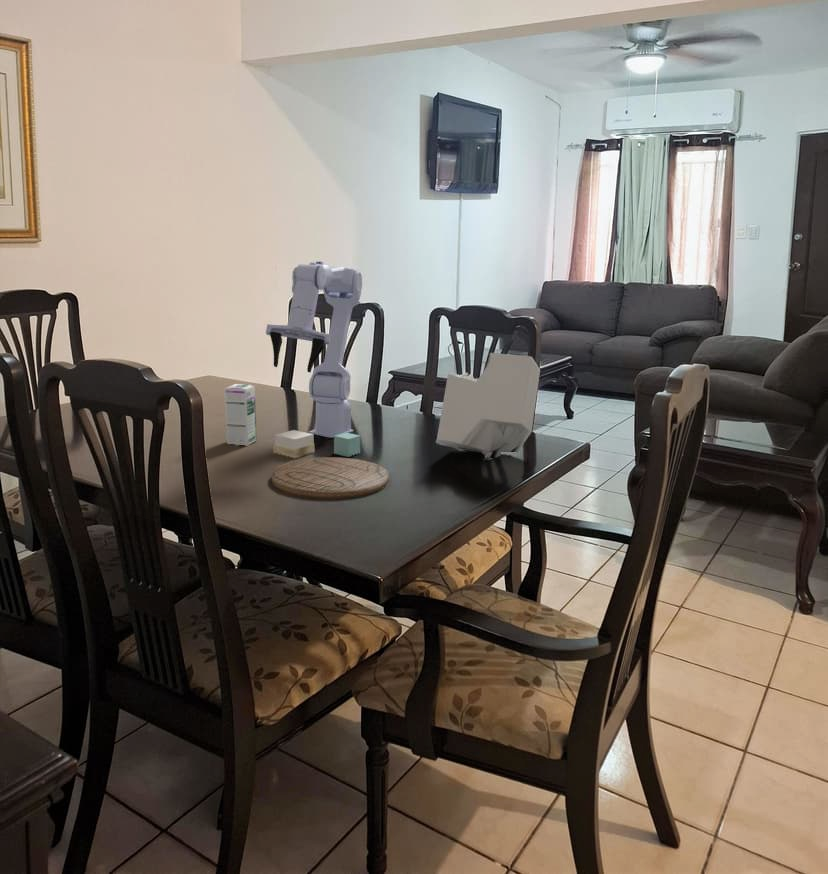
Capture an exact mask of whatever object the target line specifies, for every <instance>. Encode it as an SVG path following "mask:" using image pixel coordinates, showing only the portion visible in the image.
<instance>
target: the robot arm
mask: <svg viewBox="0 0 828 874" xmlns="http://www.w3.org/2000/svg"><path fill="white" fill-rule="evenodd" d="M291 278H292V286H291V292H292V298H291V304H290V309H289V315H288V320H287V324H286V325H284V324H283V325H282V324H268V323H267V325H266V328H265V334H266V336H269V337H270V340H271V344H272V349H273V350H272V352H273V367H274V368H278V366H279V357H280V352H281V347H282V344H283V339H282V337H283V338H289V339H297V340H303V341H309V342H312V343H311V351H310V355H309V359H308V364H307V368H306V369H307V373H311V372H312V375H311V377H310V379H309V382H308V391H309V392H308V393H309V395H310V397H311V398H312V399H313V401H314V402H315V429H312V430H309V431H308V433H310V434H314V435H317V436H321V437H325V438H328V439H329V438H331V439H332V438H334V436H336V435H339V434H343V433H350V434H351V433H353V432H354V429H352V408H351V404H350V402H349V401H348V400H347V399H348V398H349V397H350V393H351V374H350V372H349V370H348V369H346V368H345V366H343V362H344V358H345V356H344V355H345V351H346V347H347V346H346V345H347V339H348V334H349V327H350V323H351V317H352V312H353V308H354V307H355V306H358V305H359V303H360V299H361V295H362V288H363V276H362V273H361V271H360V270H358V269H354V268H352V267H351V268H349V267H345V266H344V267H343V266H329V265H327V264H326V263H324V261H321V260H320V261H319V260H318V261H315V262H309V264H298V265H297V266H294V268H293V270H292V277H291ZM320 291H323V294H324V297H325V301H326V303H328V304H329V305H330V306H331V307H332V308H333V311H332V316H331V322H330V327H329V333H325V332H321V331H318V330H315V329H313V325H314V320H315V315H316V310H317V303H318V298H319V292H320ZM325 345H326V350H325V356H324V359H323V361H324V362H321V363H320V364H318V365H317V366H315V365H314V364H315V362H316V360H317V359H318V357H319V356H320V355H321V353H322V352H323V351H324V349H325ZM314 366H315V367H314ZM313 367H314V368H313ZM312 369H313V371H312Z"/></svg>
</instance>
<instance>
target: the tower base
mask: <svg viewBox="0 0 828 874" xmlns="http://www.w3.org/2000/svg"><path fill="white" fill-rule="evenodd" d="M315 445H316V444H315V443H314V444H313V445H309V446H306V447H302V448H299V449H295V450H294V449H290V448H286V447H282V446H278V445H275V444H273V445H272V446H273V447H272V448H273V449H272V453H273V452H274V453H273V454H276V453H278V454H277V455H280V454H282V455H281V456H284V455H285V457H288V456H289V457H288V458H293V459H297V458H300V457H303V456H307V455H311V454H314V453H315V450H316V448H315ZM310 453H311V454H310Z"/></svg>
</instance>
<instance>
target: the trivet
mask: <svg viewBox="0 0 828 874" xmlns="http://www.w3.org/2000/svg"><path fill="white" fill-rule="evenodd" d="M271 483H272V485H273V486H274V487H275V488H276V489H277V488H278V489H277V490H280V491H281V492H283V493H287V494H289V495H293V496H296V497H302V498H308V499H321V500H322V499H323V500H326V499H328V500H332V499H333V500H341V499H342V500H343V499H349V498H350V499H351V498H352V499H353V498H358V497H364V496H368V495H371V493H372V494H374V492H375V493H377V492H376V491H378V492H380V491H382V490H383V489H384V488H383V487H385V486H386V487H387V485H388V484H387V483H389V472H388V470H387V469H385V467H384V466H381V465H379V464H378V463H377V464H376V463H374V462H371V461H367V460H363V459H362V460H361V459H357V458H349V457H347V458H346V457H336V456H335V457H333V456H332V457H330V456H329V457H310V458H305V459H304V458H303V459H298V460H297V459H296V460H293V461H288V462H285V463H283V464H281V465H278V466H277V467H276V468H275V469H273V471H272V473H271ZM386 487H385V488H386ZM382 488H383V489H382ZM379 490H380V491H379Z"/></svg>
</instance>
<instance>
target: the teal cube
mask: <svg viewBox="0 0 828 874" xmlns="http://www.w3.org/2000/svg"><path fill="white" fill-rule="evenodd" d="M361 436H362V435H360V434H355V433H351V432H350V433H343V434H339V435H336V436H334V437H333V454H335V455H339V456H342V457H347V458H349V457H352V455H353V456H355V454H356V455H358V453H359V454H361V438H362V437H361Z"/></svg>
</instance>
